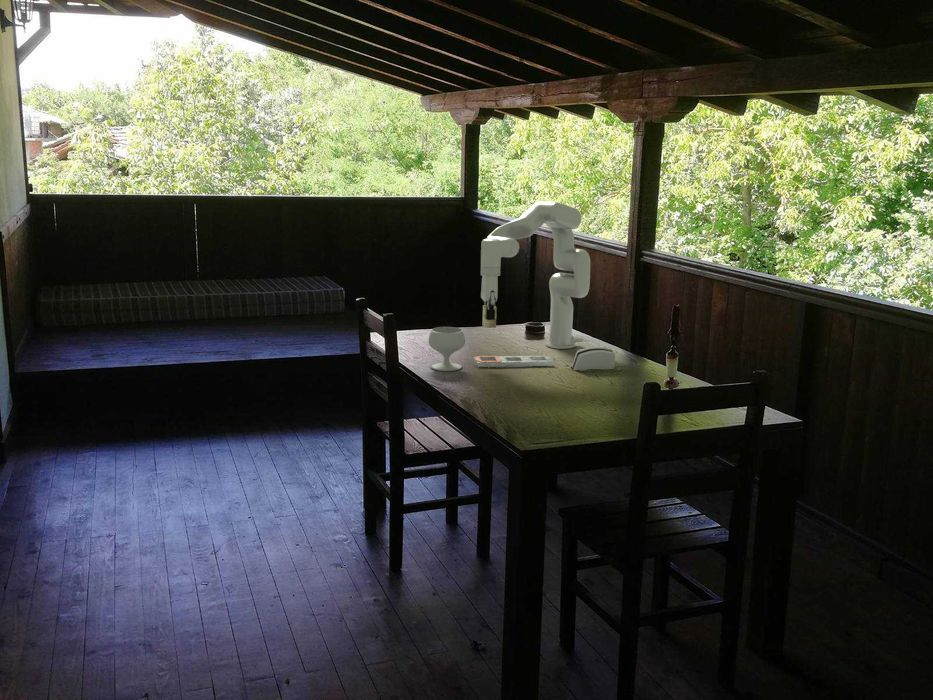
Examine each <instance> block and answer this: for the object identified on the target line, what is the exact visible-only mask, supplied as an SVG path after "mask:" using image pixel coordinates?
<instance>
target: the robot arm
mask: <svg viewBox="0 0 933 700" xmlns="http://www.w3.org/2000/svg"><path fill="white" fill-rule="evenodd" d="M581 222H582V214H581V212H580V210H579V209H577V208H576V207H573V206H571V205H570V206H569V205H567V204H564V203H562V202H557V201H547V200H546V201H545V200H543V201H542V200H540V201H539V200H538V201H535V203H533V204H532V205H531V206H530V207H529V208H528V209H527V210H526V211H525V212H524V213H523V214H521V216H519V217H518V218H516V219H514V220H511V221H509V222H507V223H505V224H503V225H500V226H498V227H497V228H495V229H493V231H491V233H489V235H488V236H487V237H486V238H484V239H482V241H481V245H480V246H481V247H480V248H481V249H480V276H481V277H482V278H481V286H480V287H481V291H480V298H481V299H482V301H483V302H484V305H487V314H486V319H487V320H495V306H496V302H497V301H498V296H499V295H498V292H499V291H498V290H499V287H498V286H499V285H498V282H499V281H498V277H499V276H501V265H502V264H501V261H502V258H513V257H515V256H516V255H517V254H518V253H519V250H520V244H519V242H518V240H521V239H524V238H525V239H526V238H529V237H531V236H534V235H533V234H535V233H536V232H537V231H538V230H539V229H540V228H541V227H542V226H543V225H544V224H545V226H547V228H549V230H550V231H551V233H552V236H553V254H552V255H553V256H552V257H553V265H554V267H555V268H556V269H558V270H562V271H568V272H573V273H567V272H557V273H554V274H552V275H551V277H550V278H549V282H548V286H549V292H550V319H549V320H550V321H549V340H548V341H546V342H545V346H546V347H547V348H552V349H556V350H557V349H558V350H565V349H566V350H568V349H572V348H575V347H576V343H583V340H584V338H583V337H579V336H573V320H574V303H573V300H572V298H578V299H583V298H586V296H587V295H588V293H589V290H590V284H591V283H590V282H591V257H590V255H589V252H588V251H586V249H582V248H576V247H575V235H574V231H573V230H576V229H577V228H578V227H580V225H581Z"/></svg>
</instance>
